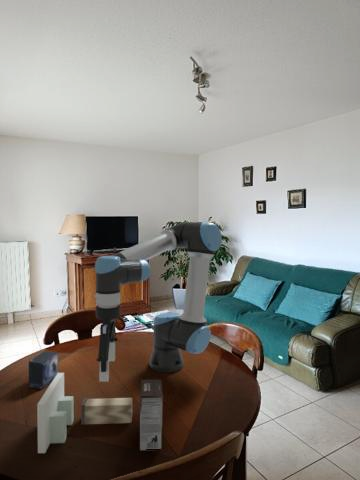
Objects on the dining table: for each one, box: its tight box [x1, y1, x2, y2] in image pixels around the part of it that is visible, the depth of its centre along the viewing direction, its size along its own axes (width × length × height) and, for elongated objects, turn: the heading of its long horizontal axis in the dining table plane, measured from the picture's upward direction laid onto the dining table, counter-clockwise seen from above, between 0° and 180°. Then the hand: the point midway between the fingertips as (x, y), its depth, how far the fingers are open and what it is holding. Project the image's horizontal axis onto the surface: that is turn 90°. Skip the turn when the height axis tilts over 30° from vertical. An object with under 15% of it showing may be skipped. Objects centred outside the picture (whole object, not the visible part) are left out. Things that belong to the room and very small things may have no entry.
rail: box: [80, 397, 133, 425], centre depth 102 cm, size 16×4×6 cm, turn 94°
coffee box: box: [139, 379, 163, 451], centre depth 93 cm, size 9×6×16 cm
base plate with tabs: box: [36, 372, 75, 454], centre depth 96 cm, size 6×18×14 cm, turn 4°
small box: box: [27, 350, 59, 390], centre depth 125 cm, size 11×6×10 cm, turn 168°
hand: (107, 370), depth 101 cm, fingers open, 13 cm apart
